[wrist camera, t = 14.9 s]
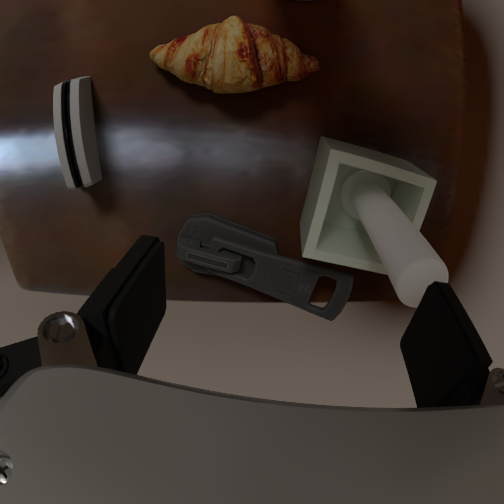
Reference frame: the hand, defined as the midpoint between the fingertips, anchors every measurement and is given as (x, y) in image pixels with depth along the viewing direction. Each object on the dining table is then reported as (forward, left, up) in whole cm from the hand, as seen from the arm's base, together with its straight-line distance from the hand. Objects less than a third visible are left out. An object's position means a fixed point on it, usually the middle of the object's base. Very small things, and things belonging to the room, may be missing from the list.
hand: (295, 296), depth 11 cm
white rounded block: (+2, -29, -34) cm, 45 cm away
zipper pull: (+17, 0, -34) cm, 38 cm away
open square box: (+4, +10, -33) cm, 35 cm away
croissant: (-10, -9, -34) cm, 36 cm away
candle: (+4, +11, -32) cm, 34 cm away
